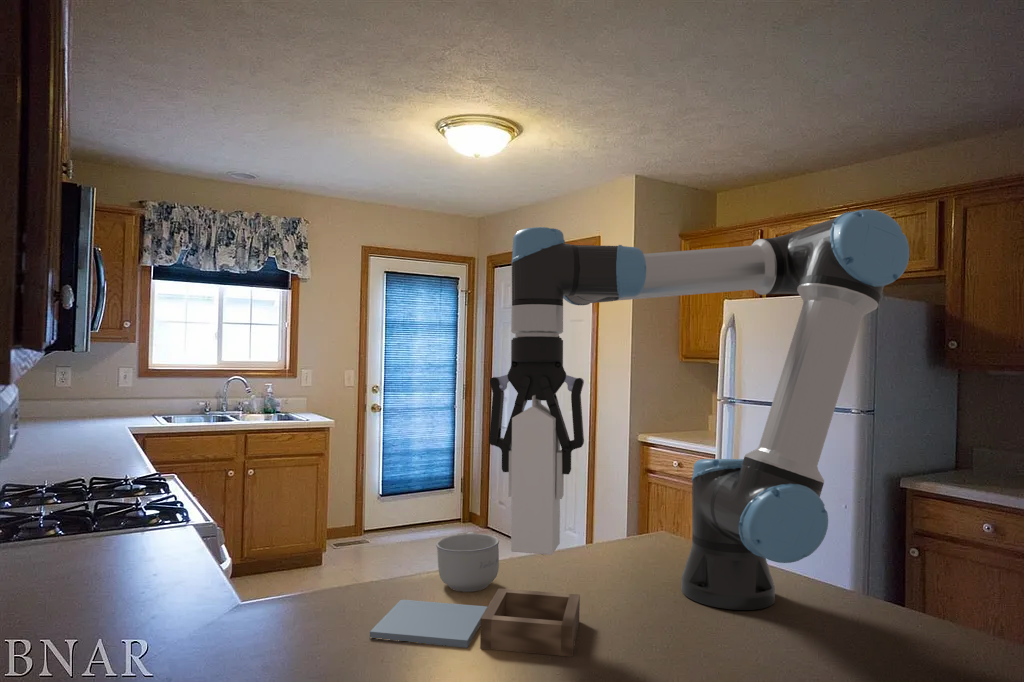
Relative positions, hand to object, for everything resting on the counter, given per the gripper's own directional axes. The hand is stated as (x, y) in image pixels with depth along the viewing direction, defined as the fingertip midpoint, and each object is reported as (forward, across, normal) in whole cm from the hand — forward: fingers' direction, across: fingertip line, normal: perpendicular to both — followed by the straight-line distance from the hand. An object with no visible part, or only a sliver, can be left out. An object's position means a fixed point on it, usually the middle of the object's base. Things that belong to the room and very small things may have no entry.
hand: (536, 495), depth 98 cm
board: (+20, +15, 0) cm, 25 cm away
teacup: (+20, +14, -19) cm, 31 cm away
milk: (+8, 0, 0) cm, 8 cm away
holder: (+20, 0, 0) cm, 20 cm away
